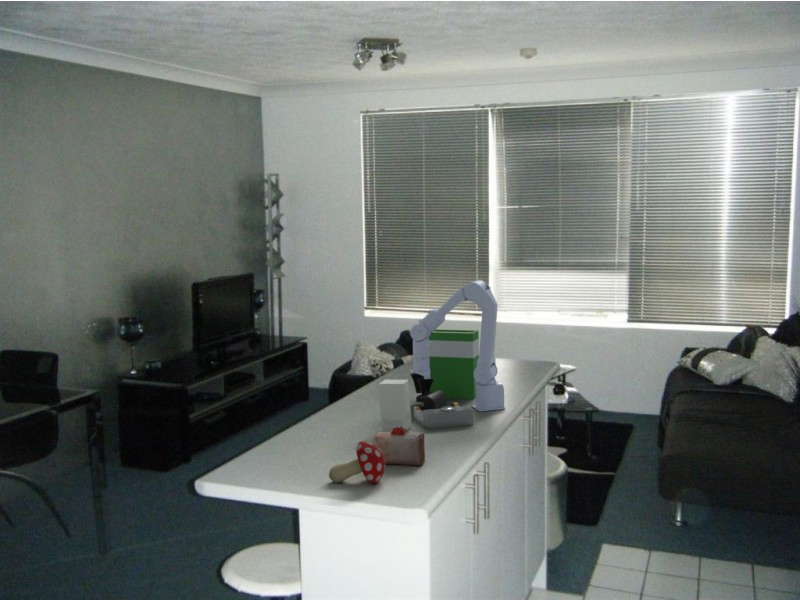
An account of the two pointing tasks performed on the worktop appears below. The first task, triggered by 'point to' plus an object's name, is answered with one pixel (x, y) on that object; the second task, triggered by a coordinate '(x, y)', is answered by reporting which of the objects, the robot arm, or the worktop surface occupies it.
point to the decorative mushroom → (361, 464)
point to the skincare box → (394, 404)
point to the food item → (401, 446)
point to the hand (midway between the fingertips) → (422, 395)
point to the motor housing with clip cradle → (445, 416)
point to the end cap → (432, 400)
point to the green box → (454, 362)
